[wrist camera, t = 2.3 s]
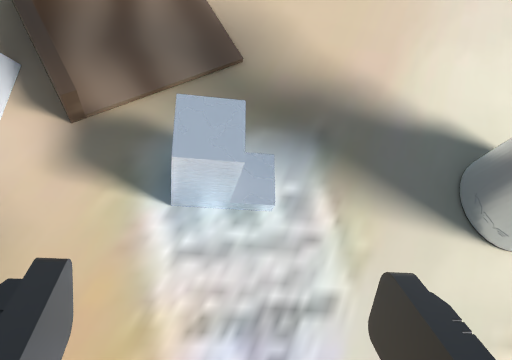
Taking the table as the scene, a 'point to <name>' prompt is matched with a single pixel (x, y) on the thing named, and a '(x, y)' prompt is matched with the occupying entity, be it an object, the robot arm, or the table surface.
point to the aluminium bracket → (217, 158)
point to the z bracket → (7, 79)
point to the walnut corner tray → (123, 48)
